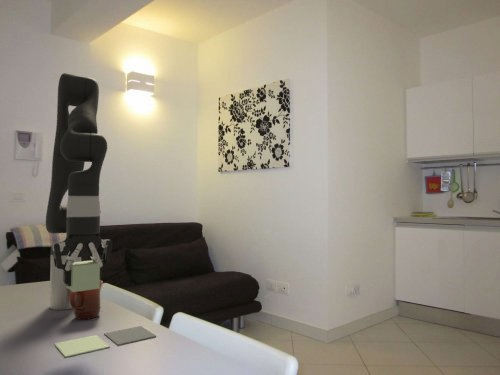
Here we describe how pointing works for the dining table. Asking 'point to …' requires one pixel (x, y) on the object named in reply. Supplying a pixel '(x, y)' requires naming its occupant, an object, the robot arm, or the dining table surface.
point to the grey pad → (129, 335)
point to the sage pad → (81, 346)
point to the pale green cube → (84, 276)
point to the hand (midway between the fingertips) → (82, 283)
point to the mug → (86, 303)
